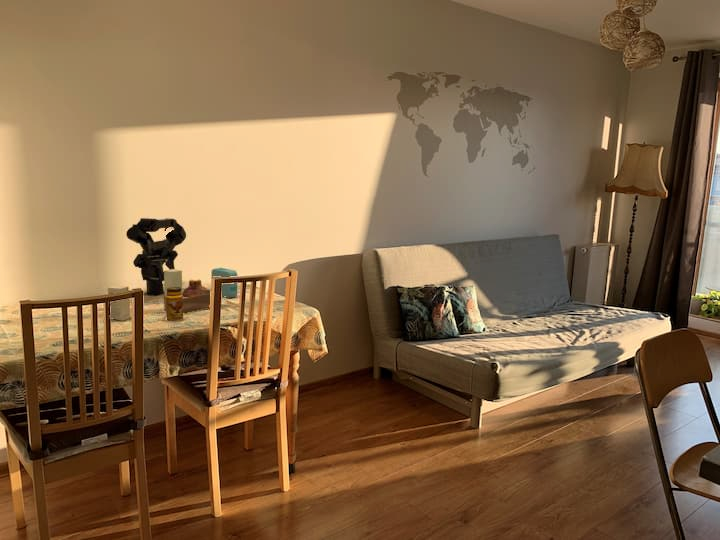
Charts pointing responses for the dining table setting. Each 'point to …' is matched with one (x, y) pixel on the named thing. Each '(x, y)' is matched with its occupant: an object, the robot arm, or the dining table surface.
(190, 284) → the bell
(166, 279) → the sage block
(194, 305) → the walnut box
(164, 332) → the dining table surface
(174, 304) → the condiment
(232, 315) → the dining table surface
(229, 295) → the data package
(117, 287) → the skincare box
